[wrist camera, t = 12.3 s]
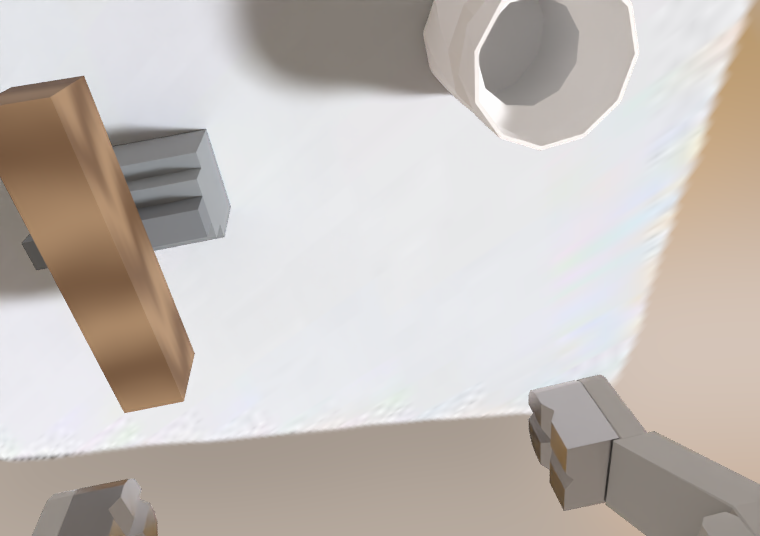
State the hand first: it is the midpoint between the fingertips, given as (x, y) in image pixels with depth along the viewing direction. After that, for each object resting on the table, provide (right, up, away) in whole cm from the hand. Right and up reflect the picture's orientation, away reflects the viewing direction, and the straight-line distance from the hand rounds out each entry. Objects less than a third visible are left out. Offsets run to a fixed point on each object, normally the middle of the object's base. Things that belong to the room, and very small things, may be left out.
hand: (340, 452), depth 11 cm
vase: (+8, +20, +26) cm, 34 cm away
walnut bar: (-14, +5, +20) cm, 25 cm away
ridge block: (-16, +10, +28) cm, 34 cm away
